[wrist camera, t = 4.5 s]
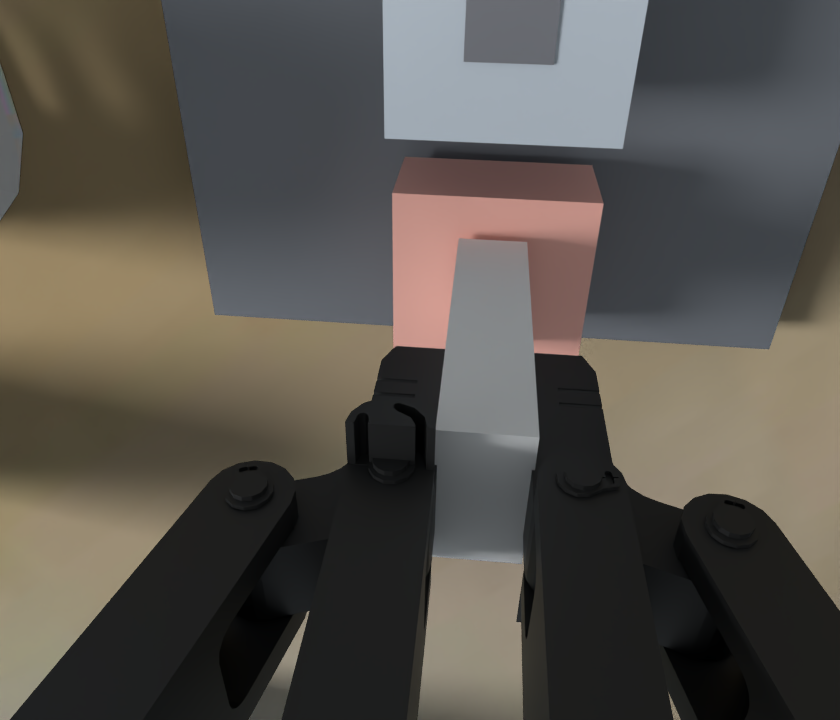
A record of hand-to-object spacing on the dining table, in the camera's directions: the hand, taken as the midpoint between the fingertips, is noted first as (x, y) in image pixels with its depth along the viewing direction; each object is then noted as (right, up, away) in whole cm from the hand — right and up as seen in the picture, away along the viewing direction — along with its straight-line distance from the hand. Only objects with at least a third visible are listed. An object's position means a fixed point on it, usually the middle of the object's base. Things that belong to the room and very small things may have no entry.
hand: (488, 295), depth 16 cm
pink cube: (0, +2, +4) cm, 4 cm away
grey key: (0, +7, -1) cm, 7 cm away
